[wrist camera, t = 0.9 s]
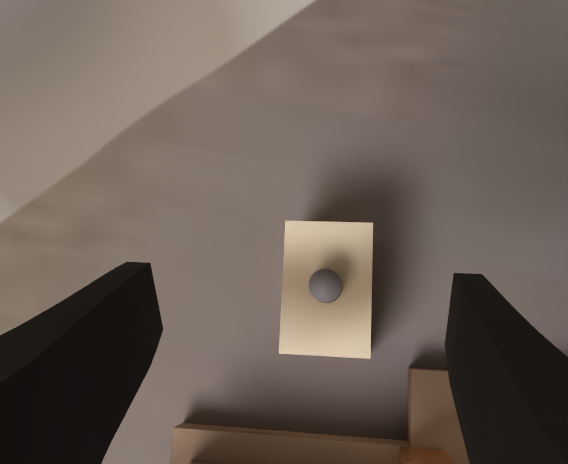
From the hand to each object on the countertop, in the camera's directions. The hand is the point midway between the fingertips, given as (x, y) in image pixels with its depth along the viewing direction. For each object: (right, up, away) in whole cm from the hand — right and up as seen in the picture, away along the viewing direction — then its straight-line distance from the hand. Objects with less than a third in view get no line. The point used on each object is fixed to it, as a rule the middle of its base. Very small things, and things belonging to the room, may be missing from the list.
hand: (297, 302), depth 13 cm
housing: (+2, -2, +16) cm, 16 cm away
